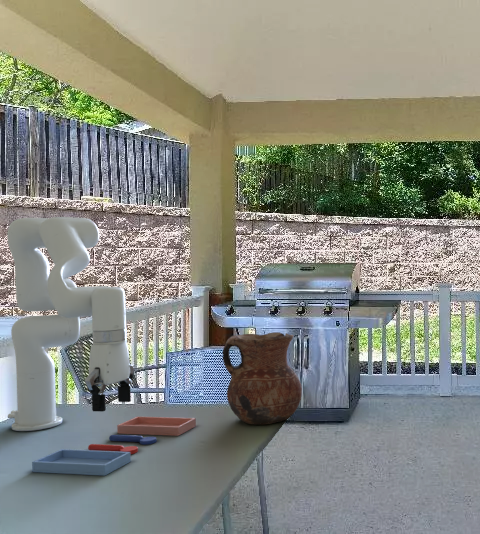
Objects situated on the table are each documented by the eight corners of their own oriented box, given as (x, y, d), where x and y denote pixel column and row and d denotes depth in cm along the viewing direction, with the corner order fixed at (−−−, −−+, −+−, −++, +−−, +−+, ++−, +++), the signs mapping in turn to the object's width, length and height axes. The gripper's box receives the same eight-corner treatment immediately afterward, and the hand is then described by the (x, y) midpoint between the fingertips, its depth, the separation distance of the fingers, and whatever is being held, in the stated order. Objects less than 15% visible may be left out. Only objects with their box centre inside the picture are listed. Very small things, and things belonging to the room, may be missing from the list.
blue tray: (32, 472, 136) (31, 461, 136) (62, 458, 145) (61, 448, 145) (104, 475, 133) (104, 465, 133) (130, 461, 142) (130, 451, 142)
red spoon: (83, 453, 149) (83, 446, 149) (94, 447, 153) (94, 441, 153) (131, 455, 147) (131, 448, 146) (141, 449, 150) (141, 443, 150)
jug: (277, 406, 193) (276, 328, 192) (317, 417, 178) (315, 332, 177) (213, 420, 177) (211, 335, 177) (250, 434, 162) (248, 341, 162)
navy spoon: (104, 443, 157) (104, 437, 157) (114, 438, 161) (114, 432, 161) (150, 445, 154) (150, 438, 154) (159, 440, 158) (159, 434, 158)
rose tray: (117, 433, 165) (117, 425, 165) (137, 424, 174) (137, 416, 174) (178, 435, 162) (178, 427, 162) (196, 426, 171) (195, 418, 171)
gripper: (118, 333, 159) (120, 398, 159) (71, 341, 142) (74, 414, 142) (144, 332, 157) (146, 398, 157) (100, 341, 140) (102, 415, 140)
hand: (112, 406), depth 150 cm, fingers open, 9 cm apart
